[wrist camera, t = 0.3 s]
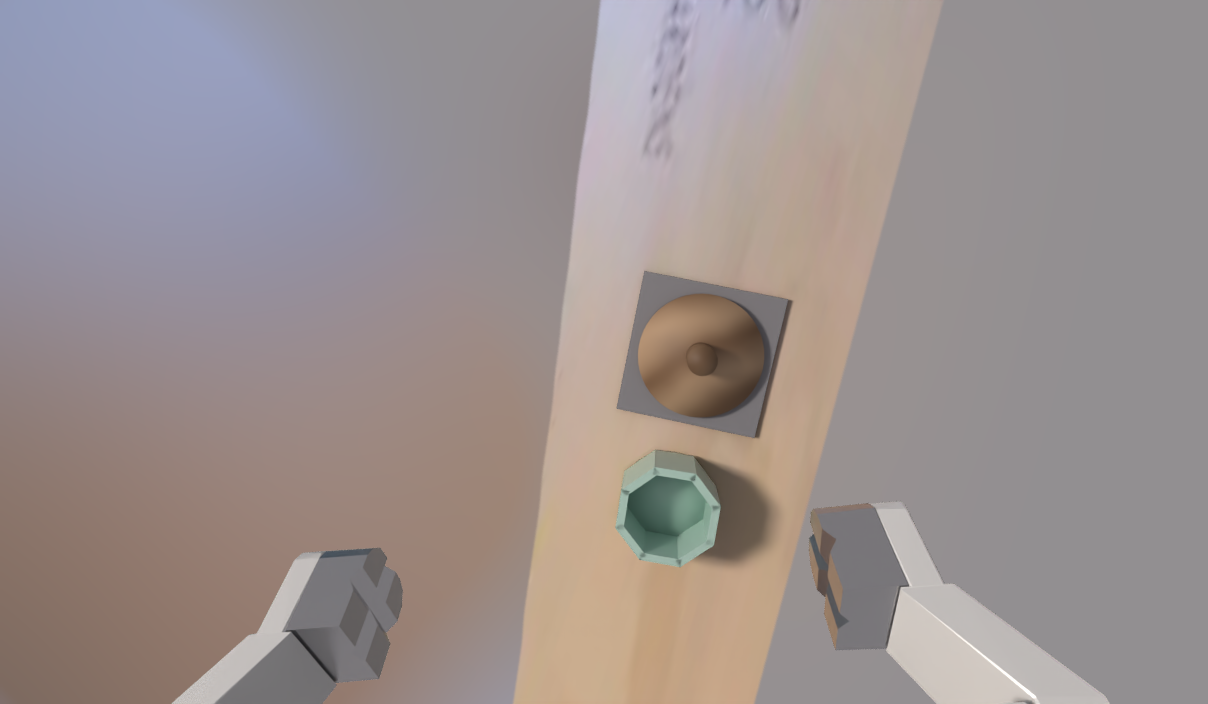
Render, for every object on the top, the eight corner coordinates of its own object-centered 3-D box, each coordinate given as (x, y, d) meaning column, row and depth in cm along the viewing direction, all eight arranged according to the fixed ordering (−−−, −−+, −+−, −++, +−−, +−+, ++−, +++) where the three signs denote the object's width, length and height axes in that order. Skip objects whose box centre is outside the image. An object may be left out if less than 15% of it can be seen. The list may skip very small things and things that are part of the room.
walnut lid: (788, 368, 62) (796, 375, 59) (685, 438, 64) (687, 449, 61) (714, 268, 61) (718, 268, 58) (613, 342, 64) (610, 347, 60)
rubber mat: (753, 436, 64) (754, 437, 64) (616, 407, 65) (616, 408, 65) (787, 299, 62) (788, 299, 61) (644, 271, 63) (644, 271, 62)
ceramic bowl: (731, 505, 65) (738, 529, 60) (657, 554, 67) (656, 582, 61) (677, 433, 65) (678, 450, 59) (603, 484, 66) (597, 505, 61)
